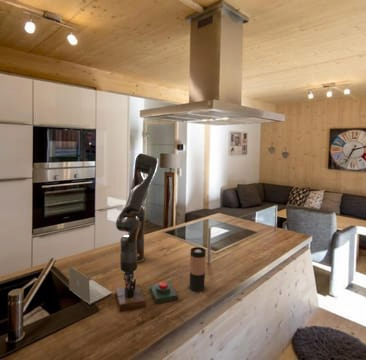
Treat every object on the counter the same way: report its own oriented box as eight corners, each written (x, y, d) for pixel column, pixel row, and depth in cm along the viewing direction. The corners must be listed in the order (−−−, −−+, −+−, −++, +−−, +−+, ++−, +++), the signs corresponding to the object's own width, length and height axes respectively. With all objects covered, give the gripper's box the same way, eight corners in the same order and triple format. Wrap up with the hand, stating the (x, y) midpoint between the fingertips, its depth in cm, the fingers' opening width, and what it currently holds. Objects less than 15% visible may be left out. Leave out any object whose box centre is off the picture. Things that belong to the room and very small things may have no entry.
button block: (150, 289, 139) (150, 282, 138) (169, 286, 142) (169, 279, 141) (156, 303, 128) (156, 295, 127) (177, 299, 131) (177, 291, 130)
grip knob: (131, 290, 132) (131, 280, 132) (134, 291, 132) (134, 281, 131) (124, 296, 127) (124, 287, 126) (127, 297, 126) (127, 287, 126)
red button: (158, 286, 135) (158, 282, 135) (165, 285, 137) (165, 281, 136) (160, 290, 132) (160, 286, 132) (167, 288, 133) (168, 285, 133)
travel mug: (186, 285, 143) (187, 248, 141) (200, 282, 146) (201, 246, 143) (193, 293, 137) (194, 254, 134) (207, 290, 140) (208, 251, 137)
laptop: (112, 294, 134) (112, 268, 132) (89, 305, 125) (88, 278, 123) (91, 280, 146) (91, 257, 144) (69, 290, 137) (68, 265, 135)
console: (116, 293, 135) (115, 287, 134) (138, 290, 138) (138, 284, 138) (119, 311, 121) (119, 304, 121) (144, 306, 125) (144, 300, 124)
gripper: (141, 263, 122) (141, 300, 125) (132, 251, 135) (133, 284, 137) (124, 267, 119) (125, 304, 122) (117, 254, 132) (118, 287, 134)
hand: (129, 293), depth 129 cm, fingers open, 4 cm apart
